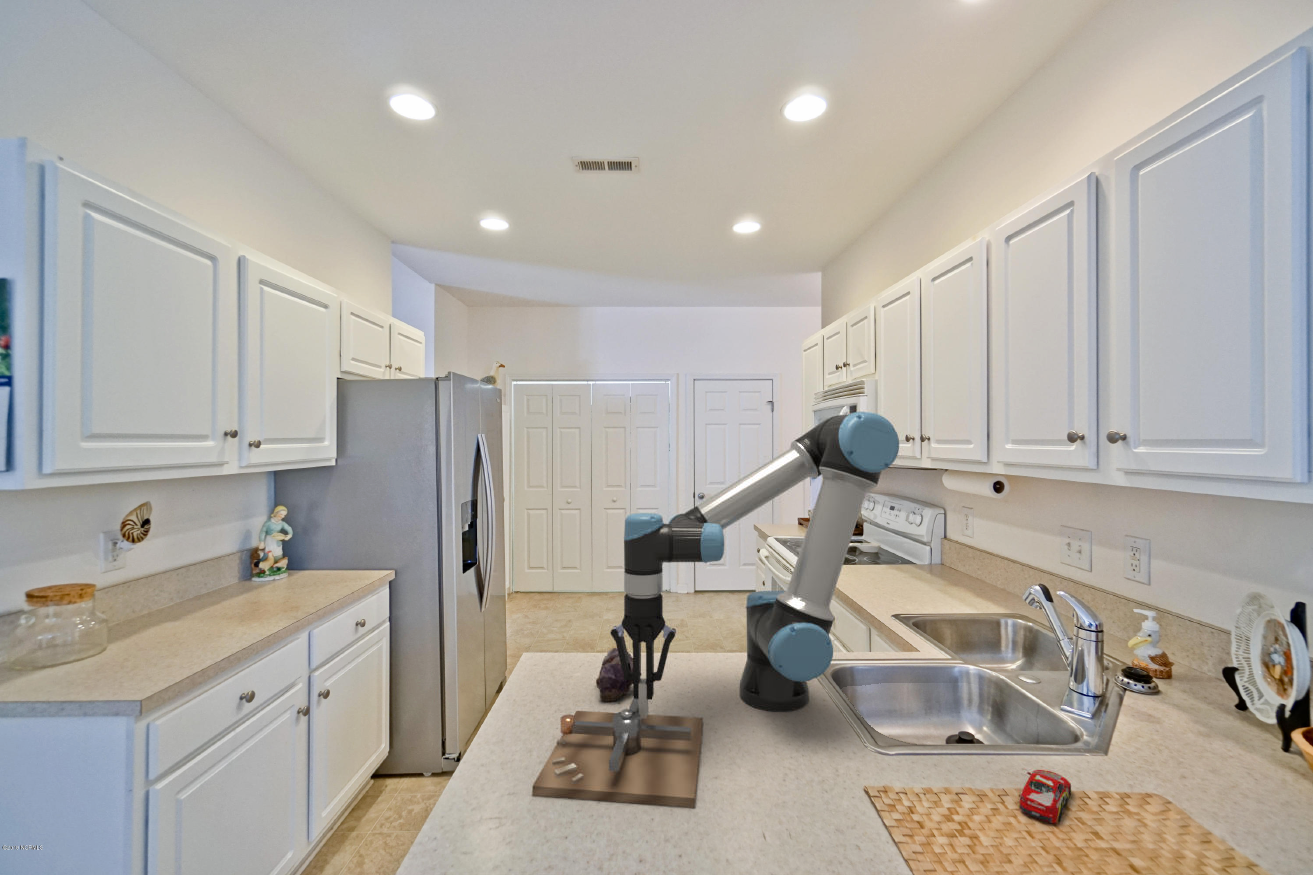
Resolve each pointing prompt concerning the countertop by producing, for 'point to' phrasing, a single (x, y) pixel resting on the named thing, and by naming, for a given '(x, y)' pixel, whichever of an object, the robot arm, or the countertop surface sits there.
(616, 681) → the rock
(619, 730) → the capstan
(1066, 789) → the race car
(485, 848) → the countertop surface
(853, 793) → the countertop surface
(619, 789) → the board
